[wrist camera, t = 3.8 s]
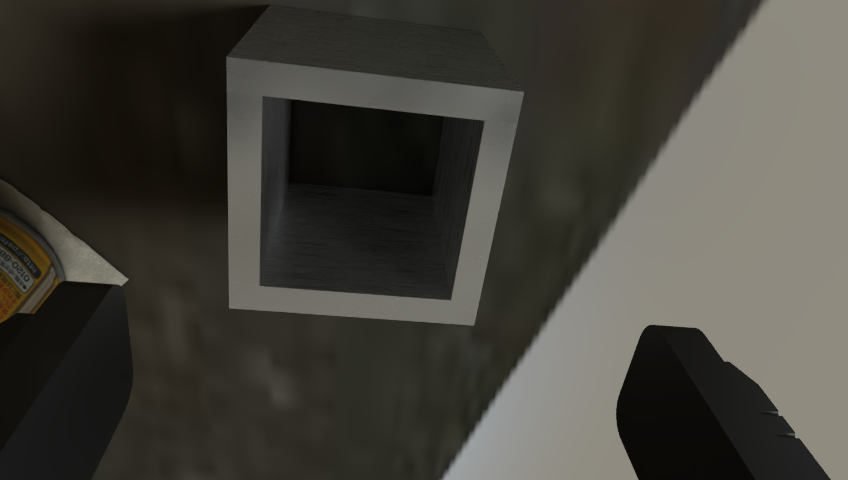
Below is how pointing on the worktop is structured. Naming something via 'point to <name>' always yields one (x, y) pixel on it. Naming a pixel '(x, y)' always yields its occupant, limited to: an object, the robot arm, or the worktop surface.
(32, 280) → the condiment
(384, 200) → the steel collar
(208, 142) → the worktop surface
